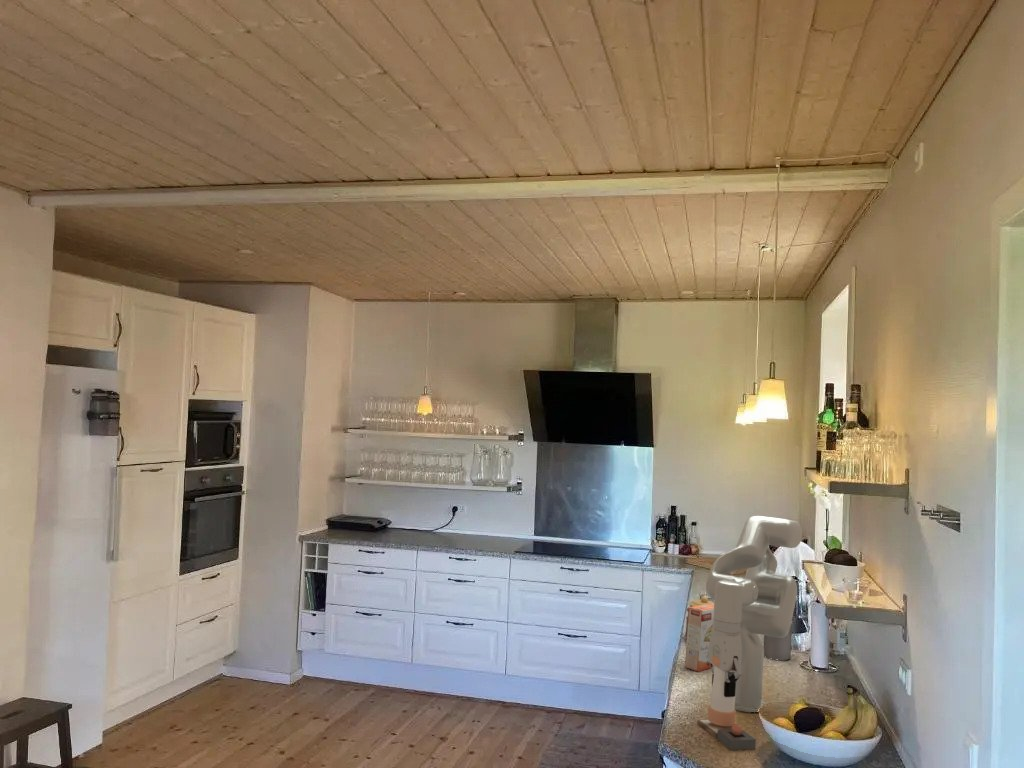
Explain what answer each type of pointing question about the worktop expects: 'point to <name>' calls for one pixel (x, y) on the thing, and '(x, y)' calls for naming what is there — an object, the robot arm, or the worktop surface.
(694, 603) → the canister
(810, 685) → the worktop surface
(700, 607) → the cracker box
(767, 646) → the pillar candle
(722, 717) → the salt shaker
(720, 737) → the button housing
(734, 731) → the button
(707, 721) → the drawing board
